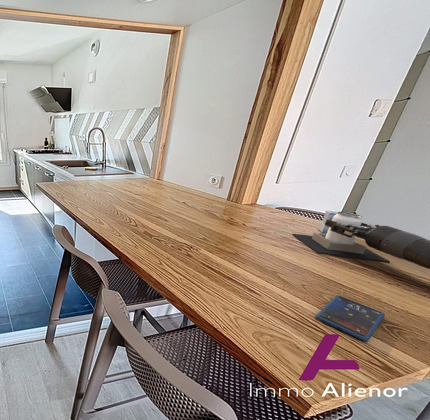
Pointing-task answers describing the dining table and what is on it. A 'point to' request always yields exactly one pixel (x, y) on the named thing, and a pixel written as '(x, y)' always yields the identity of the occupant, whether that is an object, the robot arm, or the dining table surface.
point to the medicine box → (327, 216)
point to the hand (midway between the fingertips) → (339, 222)
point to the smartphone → (351, 317)
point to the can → (345, 219)
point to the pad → (338, 248)
